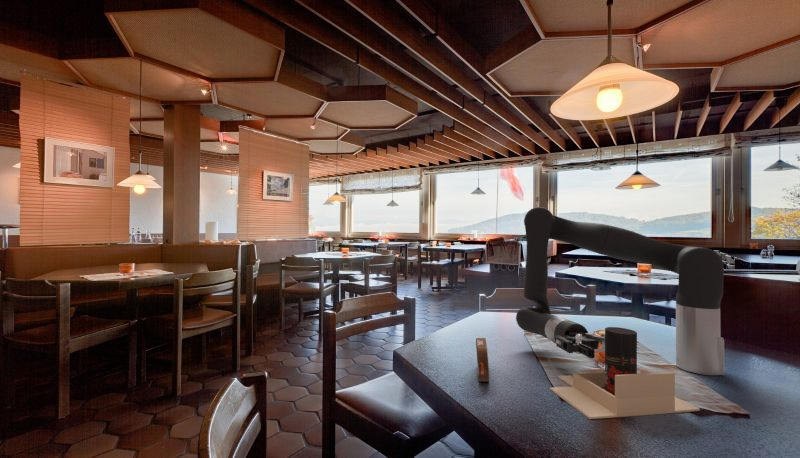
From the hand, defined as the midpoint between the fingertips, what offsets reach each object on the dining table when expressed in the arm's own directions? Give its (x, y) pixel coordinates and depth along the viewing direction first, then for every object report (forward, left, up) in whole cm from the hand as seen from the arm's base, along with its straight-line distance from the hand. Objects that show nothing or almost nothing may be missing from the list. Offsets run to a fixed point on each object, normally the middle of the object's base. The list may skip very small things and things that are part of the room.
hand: (610, 353), depth 79 cm
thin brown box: (+29, +1, -9) cm, 30 cm away
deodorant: (-1, +3, -9) cm, 10 cm away
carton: (0, 0, -9) cm, 9 cm away
